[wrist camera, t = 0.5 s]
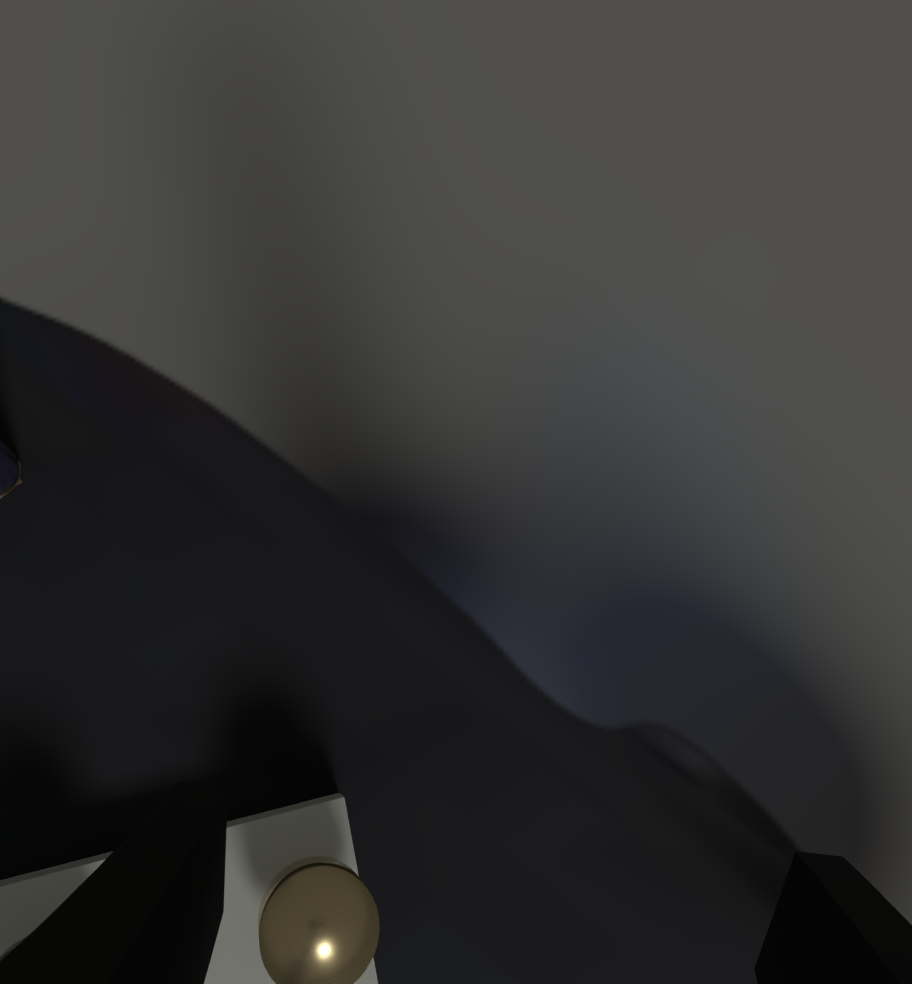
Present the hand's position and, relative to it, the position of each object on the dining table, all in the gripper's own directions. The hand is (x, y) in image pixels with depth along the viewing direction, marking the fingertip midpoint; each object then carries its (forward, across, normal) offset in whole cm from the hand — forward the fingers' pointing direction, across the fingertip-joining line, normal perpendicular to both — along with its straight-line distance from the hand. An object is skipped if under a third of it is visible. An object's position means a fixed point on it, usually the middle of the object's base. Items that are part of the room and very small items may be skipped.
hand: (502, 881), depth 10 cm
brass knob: (+16, +4, +18) cm, 24 cm away
